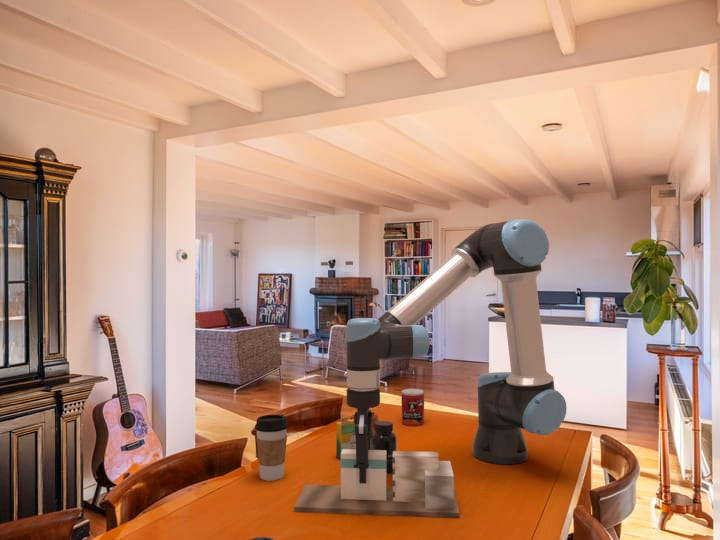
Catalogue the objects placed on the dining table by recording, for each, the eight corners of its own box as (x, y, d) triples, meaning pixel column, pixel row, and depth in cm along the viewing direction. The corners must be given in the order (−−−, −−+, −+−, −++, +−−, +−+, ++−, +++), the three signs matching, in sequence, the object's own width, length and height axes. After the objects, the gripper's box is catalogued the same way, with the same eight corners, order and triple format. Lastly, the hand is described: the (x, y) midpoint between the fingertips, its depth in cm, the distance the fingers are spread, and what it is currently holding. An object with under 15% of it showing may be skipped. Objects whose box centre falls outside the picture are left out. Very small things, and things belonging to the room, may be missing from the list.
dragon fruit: (382, 437, 166) (350, 449, 160) (369, 417, 172) (337, 428, 166) (387, 420, 161) (355, 432, 155) (374, 400, 167) (341, 411, 161)
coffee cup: (260, 485, 125) (260, 423, 125) (250, 473, 132) (250, 414, 132) (293, 478, 129) (293, 418, 129) (282, 467, 136) (282, 410, 136)
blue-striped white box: (386, 494, 116) (386, 450, 116) (386, 500, 113) (386, 454, 113) (342, 493, 117) (342, 449, 117) (340, 499, 114) (340, 453, 114)
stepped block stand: (454, 493, 119) (453, 445, 119) (459, 517, 107) (459, 464, 107) (305, 488, 122) (305, 442, 123) (294, 511, 111) (293, 460, 111)
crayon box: (357, 452, 148) (357, 411, 148) (363, 455, 145) (363, 413, 146) (335, 457, 144) (335, 415, 144) (341, 460, 141) (341, 417, 142)
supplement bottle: (395, 475, 131) (394, 427, 131) (368, 473, 132) (368, 426, 132) (398, 465, 137) (398, 420, 138) (373, 463, 139) (372, 418, 139)
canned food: (400, 426, 174) (400, 393, 174) (402, 419, 181) (402, 388, 182) (423, 427, 172) (423, 394, 172) (424, 420, 180) (424, 388, 180)
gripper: (350, 380, 124) (351, 478, 124) (342, 395, 108) (342, 508, 107) (381, 380, 123) (382, 479, 123) (377, 396, 107) (378, 509, 107)
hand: (364, 492), depth 115 cm, fingers closed on blue-striped white box, 3 cm apart
